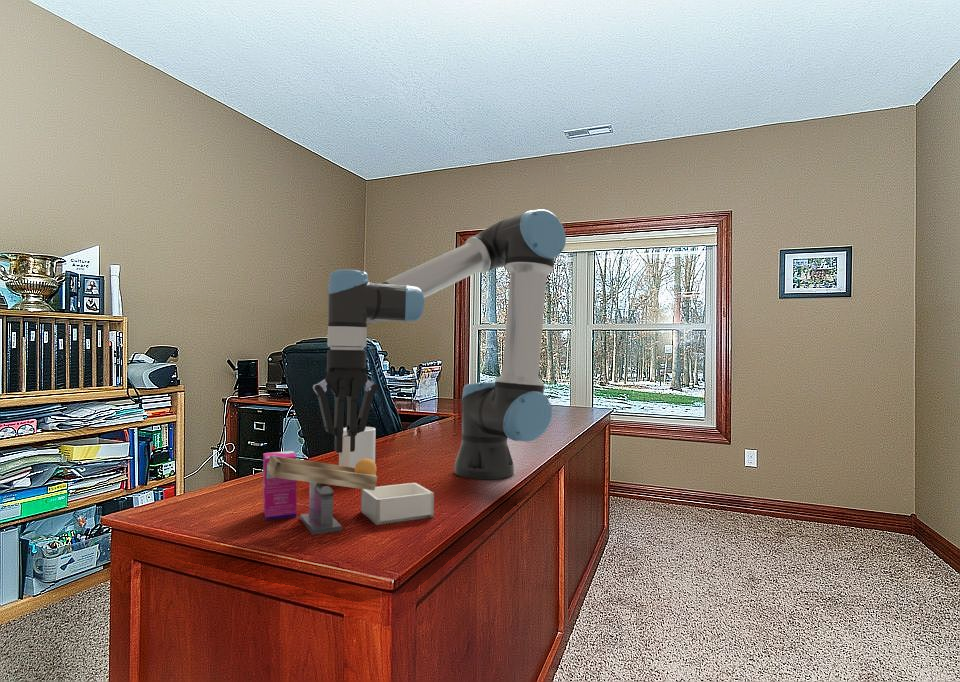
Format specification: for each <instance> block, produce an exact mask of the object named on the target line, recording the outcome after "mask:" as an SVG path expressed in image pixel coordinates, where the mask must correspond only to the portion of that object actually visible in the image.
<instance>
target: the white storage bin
mask: <svg viewBox="0 0 960 682" xmlns="http://www.w3.org/2000/svg"><path fill="white" fill-rule="evenodd" d="M360 496H361V497H360V499H361V503H360V506H361V507H360V511H361V513H362V514H363V515H364V516H365V517H367V518H368V519H369V520H370V521H371V522H372V523H373V524H375V525H376V526H379V525H380V526H381V525H386V524H394V523H400V522H407V521H414V520H421V519H428V518H434V517H435V516H434V510H435V508H434V506H435V492H432V491H431V490H430V489H427V488H426V487H424V486H422V485H421V484H419V483H417V482H408V483H407V482H406V483H400V484H388V485H380V486H375V490H368V489H361V495H360Z"/></svg>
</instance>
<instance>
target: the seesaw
mask: <svg viewBox="0 0 960 682" xmlns="http://www.w3.org/2000/svg"><path fill="white" fill-rule="evenodd" d="M267 470H268V471H269V473H270V474H271V475H272V476H273V477H274V478H282V479H289V480H297V482H308V483H309V482H313V483H321V484H327V485H328V486H329V485H330V486H331V485H332V486H338V487H345V488H346V487H347V488H354V489H360V490H362V489H368V490H375V487H377V481H378V476H377V475H376V474H375V475H376V476H375V475H368V474H361V473H355V467H348V466H341V465H339V464H334V463H326V462H320V461H313V460H308V459H307V460H305V459H301V458H300V459H299V458H297V459H293V458H286V457H279V456H272V455H270V458H269V462H268V466H267Z"/></svg>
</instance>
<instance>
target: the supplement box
mask: <svg viewBox="0 0 960 682" xmlns="http://www.w3.org/2000/svg"><path fill="white" fill-rule="evenodd" d="M262 455H263V457H262V458H263V460H262V461H263V463H262V465H263V466H262V467H263V468H262V469H263V470H262V473H263V475H262V477H263V479H262V481H263V482H262V483H263V484H262V485H263V487H262V491H263V492H262V493H263V495H262V497H263V498H262V500H263V501H262V503H263V506H262V507H263V513H264V519H265V520H266V521H269V520H278V519H289V518H297V516H298V511H297V509H298V507H297V506H298V502H297V501H298V499H297V498H298V496H297V495H298V493H297V485H298V484H297V483H298V481H297V480H289V479H282V478H274V477H273V476H272V475H271V474H270V473H269V471H268V470H267V466H268V462H269V458H270V455H272V456H279V457H286V458H293V459H298V458H297V455H296V453H295V452H294V450H288V451H287V450H286V451H276V452H275V451H274V452H273V451H272V452H265V453H263V454H262Z"/></svg>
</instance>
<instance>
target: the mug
mask: <svg viewBox="0 0 960 682" xmlns="http://www.w3.org/2000/svg"><path fill="white" fill-rule="evenodd" d="M376 431H377V430H376V427H372V426H366V427H365V430H364V431H363V432H360V433H357V435H356V436H355V450H354V452H350V467H355V466H356V464H357V462H358V461H359V460H361V459H364V458H368V459H371V460H373V461H374V462H375V463H376ZM346 434H347V426H346V427H343V435H346ZM375 476H377V475H376V474H375Z"/></svg>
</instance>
